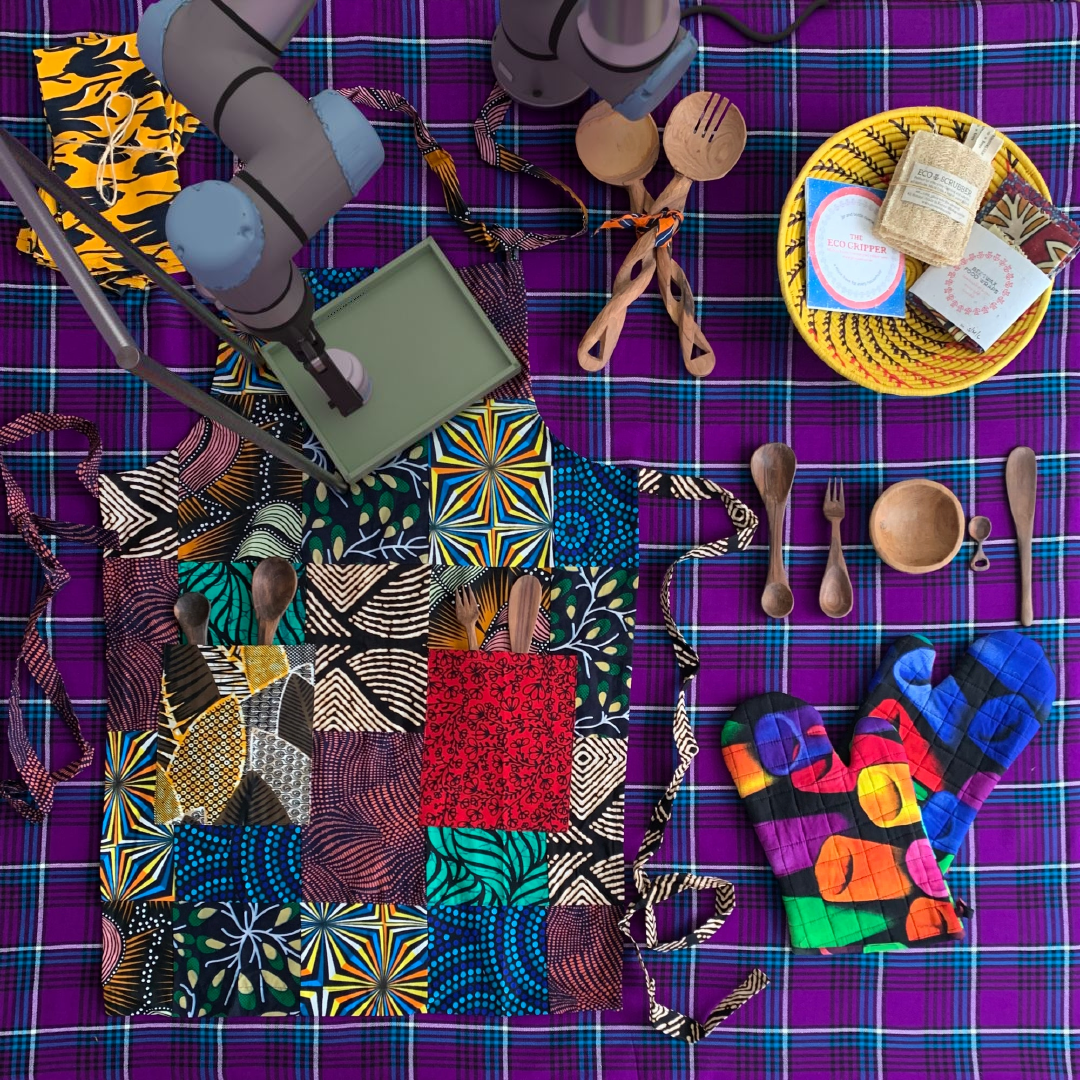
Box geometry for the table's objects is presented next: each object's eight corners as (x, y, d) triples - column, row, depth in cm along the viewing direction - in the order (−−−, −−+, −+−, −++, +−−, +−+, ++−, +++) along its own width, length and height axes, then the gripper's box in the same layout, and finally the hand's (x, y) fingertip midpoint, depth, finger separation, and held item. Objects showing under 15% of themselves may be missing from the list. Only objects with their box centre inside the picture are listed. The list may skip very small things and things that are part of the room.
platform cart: (431, 241, 125) (313, -124, 63) (523, 373, 123) (492, 131, 62) (251, 361, 124) (-49, 108, 62) (340, 496, 122) (123, 373, 61)
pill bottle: (323, 402, 123) (300, 380, 112) (339, 360, 123) (318, 335, 112) (364, 417, 123) (345, 397, 112) (381, 376, 123) (364, 352, 112)
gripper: (163, 209, 87) (238, 289, 108) (303, 421, 85) (352, 461, 106) (229, 166, 88) (291, 255, 109) (370, 377, 86) (405, 425, 107)
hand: (321, 357), depth 108 cm, fingers open, 13 cm apart
